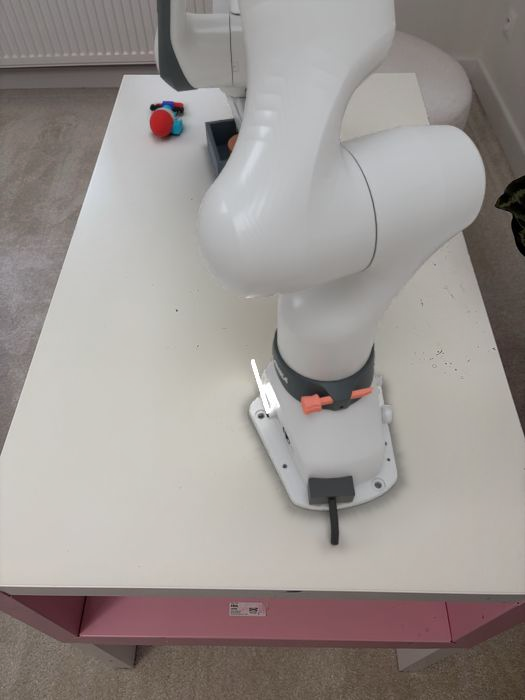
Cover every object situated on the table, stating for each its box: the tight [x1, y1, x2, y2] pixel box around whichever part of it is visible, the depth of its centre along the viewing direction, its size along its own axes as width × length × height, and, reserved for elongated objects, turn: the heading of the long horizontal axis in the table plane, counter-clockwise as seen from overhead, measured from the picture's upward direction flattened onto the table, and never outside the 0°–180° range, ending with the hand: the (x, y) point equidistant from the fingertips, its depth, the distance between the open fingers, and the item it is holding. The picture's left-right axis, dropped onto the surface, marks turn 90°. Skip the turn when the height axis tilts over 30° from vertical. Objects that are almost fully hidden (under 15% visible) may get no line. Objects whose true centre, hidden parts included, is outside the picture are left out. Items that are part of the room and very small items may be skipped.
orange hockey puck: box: [228, 134, 239, 155], centre depth 101 cm, size 7×7×2 cm
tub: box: [204, 117, 237, 179], centre depth 101 cm, size 14×14×6 cm
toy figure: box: [149, 100, 185, 138], centre depth 109 cm, size 8×5×15 cm
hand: (246, 146), depth 100 cm, fingers closed on orange hockey puck, 7 cm apart
